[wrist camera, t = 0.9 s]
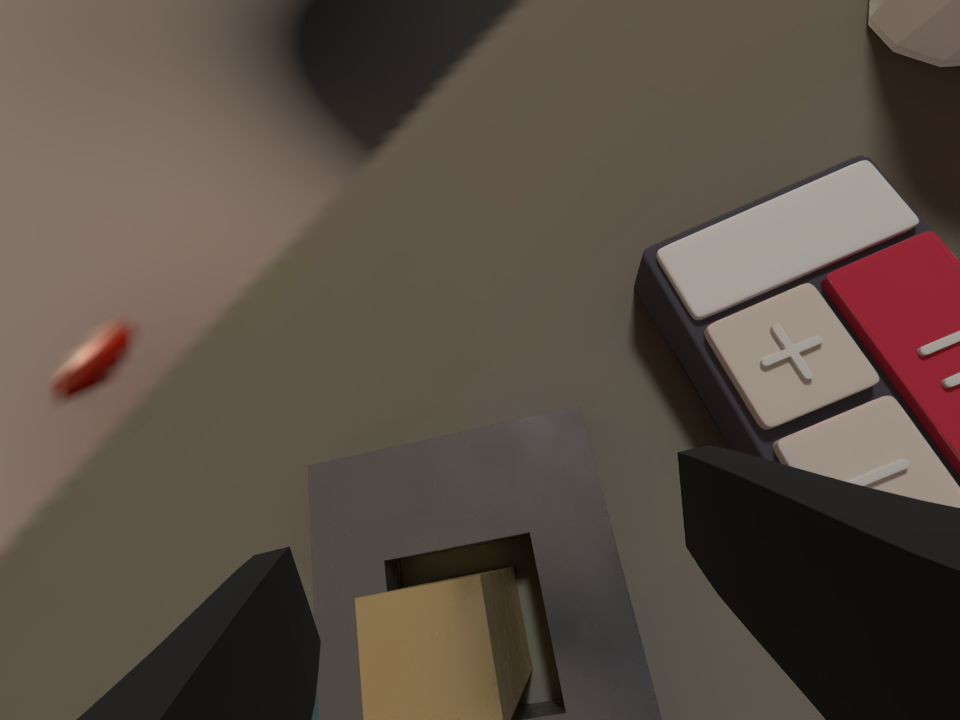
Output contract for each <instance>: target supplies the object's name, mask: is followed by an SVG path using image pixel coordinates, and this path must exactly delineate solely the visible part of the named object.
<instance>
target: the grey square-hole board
mask: <svg viewBox="0 0 960 720" xmlns="http://www.w3.org/2000/svg"><path fill="white" fill-rule="evenodd" d="M308 480H309V503H310V526H311V549H312V571H313V594H314V617H315V625H316V628H317V631H318V634H319V637H320V640H321V646H320V658H319V670H318V680H317V685H318V707H319V720H364V719H363V705H362V691H361V677H360V663H359V649H358V635H357V622H356V608H355V598H359V597H363V596H368V595H373V594H377V593H382V592H387V591H392V590H396V589H401V588H403V587H402V577H401V568H400V560H401V559H406V558H411V557H416V556H421V555H427V554H432V553H437V552H442V551H447V550H452V549H457V548H462V547H468V546H473V545H478V544H483V543H488V542H493V541H498V540H504V539H509V538H514V537H519V536H524V535H529V534H530V536H531V541H532V546H533V551H534V556H535V561H536V566H537V571H538V576H539V581H540V586H541V591H542V596H543V601H544V606H545V611H546V616H547V621H548V626H549V630H550V635H551V640H552V645H553V650H554V655H555V660H556V665H557V670H558V675H559V680H560V685H561V690H562V695H563V699H559V700H553V701H547V702H540V703H534V704H527V705H521V706H516V709H515V711H514V713H513V716H512V718H511V720H662V719H661V715H660V711H659V707H658V703H657V700H656V696H655V692H654V688H653V684H652V680H651V677H650V673H649V669H648V665H647V661H646V657H645V654H644V650H643V646H642V642H641V638H640V634H639V631H638V627H637V623H636V619H635V615H634V611H633V608H632V604H631V600H630V596H629V592H628V589H627V585H626V581H625V577H624V573H623V569H622V566H621V562H620V558H619V554H618V550H617V546H616V543H615V539H614V535H613V531H612V527H611V523H610V520H609V516H608V512H607V508H606V504H605V500H604V497H603V493H602V489H601V485H600V481H599V477H598V474H597V470H596V466H595V462H594V458H593V454H592V451H591V447H590V443H589V439H588V435H587V432H586V428H585V424H584V420H583V416H582V412H581V409H580V406H576V407H572V408H567V409H563V410H558V411H554V412H549V413H545V414H540V415H536V416H531V417H527V418H522V419H518V420H513V421H508V422H504V423H499V424H495V425H490V426H486V427H481V428H477V429H472V430H468V431H463V432H459V433H454V434H450V435H445V436H441V437H436V438H432V439H427V440H423V441H418V442H414V443H409V444H405V445H400V446H396V447H391V448H387V449H382V450H378V451H373V452H368V453H364V454H359V455H355V456H350V457H346V458H341V459H337V460H332V461H328V462H323V463H319V464H314V465H310V466H308Z"/></svg>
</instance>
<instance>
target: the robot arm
mask: <svg viewBox="0 0 960 720" xmlns="http://www.w3.org/2000/svg"><path fill="white" fill-rule="evenodd" d="M678 462H679V473H680V485H681V496H682V507H683V518H684V529H685V540H686V547H687V549H688V550H689V552H690V553H691V555H692V556H693V558H694V559H695V561H696V563H697V564H698V566H699V567H700V569H701V570H702V572H703V573H704V575H705V576H706V578H707V579H708V581H709V582H710V583H711V585H712V586H713V588H714V589H715V591H716V592H717V594H718V595H719V596H720V597H721V598H722V600H723V601H724V602H725V603H726V604H727V606H728V607H729V608H730V609H731V610H732V611H733V613H734V614H735V615H736V616H737V617H738V618H739V620H740V621H741V622H742V623H743V624H744V625H745V627H746V628H747V629H748V630H749V631H750V633H751V634H752V635H753V636H754V637H755V638H756V639H757V641H758V642H759V643H760V644H761V645H762V646H763V647H764V649H765V650H766V651H767V652H768V653H769V654H770V655H771V657H772V658H773V659H774V660H775V661H776V662H777V664H778V665H779V666H780V667H781V668H782V669H783V670H784V672H785V673H786V674H787V675H788V676H789V677H790V678H791V680H792V681H793V682H794V683H795V684H796V685H797V687H798V688H799V689H800V690H801V691H802V692H803V693H804V695H805V696H806V697H807V698H808V699H809V700H810V701H811V703H812V704H813V705H814V706H815V707H816V708H817V710H818V711H819V712H820V713H821V714H822V716H823V717H824V718H825V719H826V720H960V508H957V507H952V506H947V505H942V504H937V503H933V502H928V501H923V500H919V499H914V498H910V497H906V496H902V495H898V494H893V493H889V492H885V491H881V490H877V489H873V488H869V487H865V486H861V485H857V484H853V483H849V482H845V481H842V480H838V479H834V478H831V477H827V476H823V475H820V474H816V473H813V472H809V471H806V470H802V469H798V468H795V467H791V466H788V465H784V464H781V463H777V462H774V461H771V460H767V459H764V458H760V457H756V456H753V455H749V454H745V453H742V452H738V451H734V450H730V449H726V448H721V447H716V446H711V445H707V446H703V447H699V448H694V449H690V450H686V451H682V452H678ZM320 646H321V640H320V637H319V634H318V631H317V628H316V625H315V622H314V619H313V616H312V613H311V610H310V607H309V604H308V601H307V598H306V595H305V592H304V589H303V586H302V583H301V580H300V577H299V574H298V571H297V568H296V565H295V562H294V559H293V556H292V553H291V550H290V547H286V548H282V549H278V550H274V551H270V552H266V553H262V554H257V555H254V556H253V557H252V558H250V559H249V560H248V561H247V562H245V563H244V564H243V565H242V566H241V567H240V568H239V569H238V570H236V571H235V572H234V573H233V574H232V575H231V576H230V577H229V578H228V579H227V580H226V581H225V582H224V583H223V584H222V585H221V586H220V587H219V588H218V589H216V590H215V591H214V592H213V593H212V594H211V595H210V596H209V597H208V598H207V599H206V600H205V601H204V602H203V603H202V604H201V605H200V606H199V607H198V608H197V609H196V610H195V611H194V612H193V613H192V614H191V615H190V616H189V617H188V618H187V619H186V620H185V621H183V622H182V623H181V624H180V625H179V626H178V627H177V628H176V629H175V630H174V631H173V632H172V633H171V634H170V635H169V636H168V637H167V638H166V639H165V640H164V641H163V642H162V643H161V644H160V645H159V646H158V647H156V648H155V649H154V650H153V651H152V652H151V653H150V654H149V655H148V656H147V657H146V658H144V659H143V660H142V661H141V662H140V663H139V664H138V665H137V666H136V667H135V668H133V669H132V670H131V671H130V672H129V673H128V674H127V675H126V676H125V677H124V678H122V679H121V680H120V681H119V682H118V683H117V684H116V685H115V686H114V687H113V688H111V689H110V690H109V691H108V692H107V693H106V694H105V695H104V696H103V697H102V698H100V699H99V700H98V701H97V702H96V703H95V704H94V705H93V706H92V707H91V708H89V709H88V710H87V711H86V712H85V713H84V714H82V715H81V716H80V717H79V718H78V719H77V720H312V715H313V710H314V705H315V699H316V689H317V680H318V670H319V658H320Z"/></svg>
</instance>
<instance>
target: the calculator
mask: <svg viewBox="0 0 960 720" xmlns="http://www.w3.org/2000/svg"><path fill="white" fill-rule="evenodd" d="M634 287H635V290H636V292H637V294H638V296H639V297H640V299H641V301H642V302H643V304H644V306H645V307H646V309H647V311H648V312H649V314H650V316H651V318H652V319H653V321H654V323H655V324H656V326H657V328H658V329H659V331H660V333H661V334H662V336H663V338H664V339H665V341H666V343H667V344H668V346H669V348H670V349H671V350H672V351H673V352H674V353H675V355H676V356H677V357H678V358H679V360H680V362H681V364H682V365H683V367H684V369H685V370H686V372H687V374H688V376H689V377H690V379H691V381H692V383H693V384H694V386H695V388H696V390H697V391H698V393H699V395H700V397H701V398H702V400H703V402H704V404H705V405H706V407H707V409H708V411H709V412H710V414H711V416H712V418H713V419H714V421H715V423H716V425H717V426H718V428H719V430H720V431H721V433H722V435H723V437H724V438H725V440H726V442H727V444H728V445H729V447H730V449H731V450H734V451H738V452H742V453H745V454H749V455H753V456H756V457H760V458H764V459H767V460H771V461H774V462H777V463H781V464H784V465H788V466H791V467H795V468H798V469H802V470H806V471H809V472H813V473H816V474H820V475H823V476H827V477H831V478H834V479H838V480H842V481H845V482H849V483H853V484H857V485H861V486H865V487H869V488H873V489H877V490H881V491H885V492H889V493H893V494H898V495H902V496H906V497H910V498H914V499H919V500H923V501H928V502H933V503H937V504H942V505H947V506H952V507H957V508H960V261H959V259H958V258H957V257H956V256H955V255H954V254H953V252H952V251H951V250H950V249H949V248H948V247H947V245H946V244H945V243H944V242H943V241H942V240H941V239H940V238H939V237H938V236H937V235H936V234H935V233H934V232H933V230H932V229H931V228H930V227H929V226H928V225H927V223H926V222H925V221H924V220H923V219H922V218H921V216H920V215H919V214H918V213H917V212H916V211H915V209H914V208H913V207H912V206H911V205H910V204H909V203H908V201H907V200H906V199H905V198H904V197H903V196H902V194H901V193H900V192H899V191H898V190H897V189H896V187H895V186H894V185H893V184H892V183H891V182H890V180H889V179H888V178H887V177H886V176H885V175H884V173H883V172H882V171H881V170H880V169H879V168H878V166H877V165H876V164H875V163H874V162H873V161H872V160H871V159H870V158H869V157H867V156H856V157H854V158H851V159H849V160H847V161H844V162H842V163H840V164H837V165H835V166H833V167H831V168H828V169H826V170H824V171H821V172H819V173H817V174H815V175H812V176H810V177H808V178H805V179H803V180H801V181H799V182H796V183H794V184H792V185H789V186H787V187H785V188H783V189H780V190H778V191H776V192H773V193H771V194H769V195H767V196H764V197H762V198H760V199H757V200H755V201H753V202H751V203H748V204H746V205H744V206H741V207H739V208H737V209H735V210H732V211H730V212H728V213H725V214H723V215H721V216H719V217H716V218H714V219H712V220H709V221H707V222H705V223H703V224H700V225H698V226H696V227H693V228H691V229H689V230H687V231H684V232H682V233H680V234H677V235H675V236H673V237H671V238H668V239H666V240H664V241H661V242H659V243H657V244H655V245H652V246H650V247H648V248H647V249H645V251H644V253H643V255H642V259H641V263H640V266H639V270H638V273H637V277H636V281H635V285H634Z"/></svg>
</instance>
